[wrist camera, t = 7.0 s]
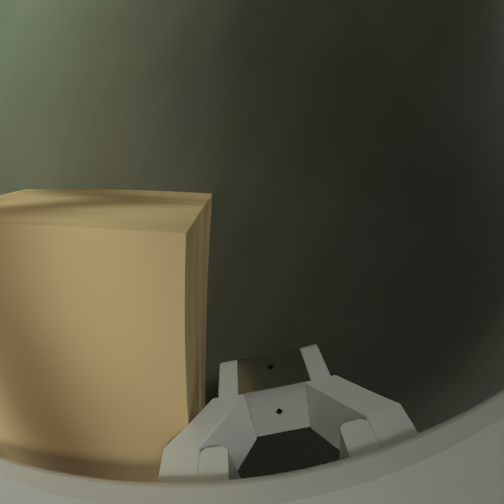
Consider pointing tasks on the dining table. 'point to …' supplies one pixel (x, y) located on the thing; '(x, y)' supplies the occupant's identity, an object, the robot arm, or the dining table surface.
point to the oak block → (101, 327)
